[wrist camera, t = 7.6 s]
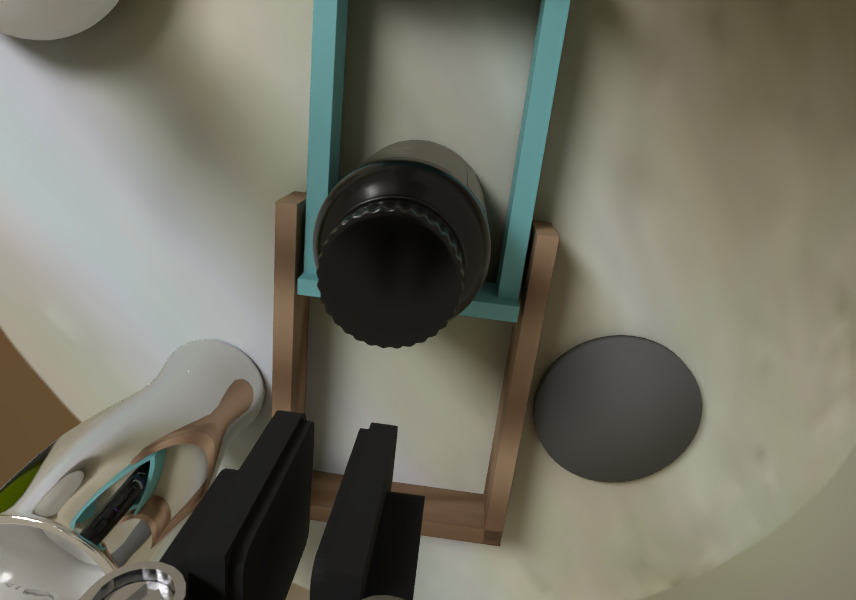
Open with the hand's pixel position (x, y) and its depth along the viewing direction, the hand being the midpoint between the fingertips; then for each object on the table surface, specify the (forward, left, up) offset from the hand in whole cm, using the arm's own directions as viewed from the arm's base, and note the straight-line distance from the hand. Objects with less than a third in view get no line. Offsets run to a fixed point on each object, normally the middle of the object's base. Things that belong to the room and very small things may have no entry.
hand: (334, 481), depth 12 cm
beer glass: (+10, -11, -20) cm, 25 cm away
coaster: (+8, +12, -20) cm, 24 cm away
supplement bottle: (-2, 0, -20) cm, 20 cm away
